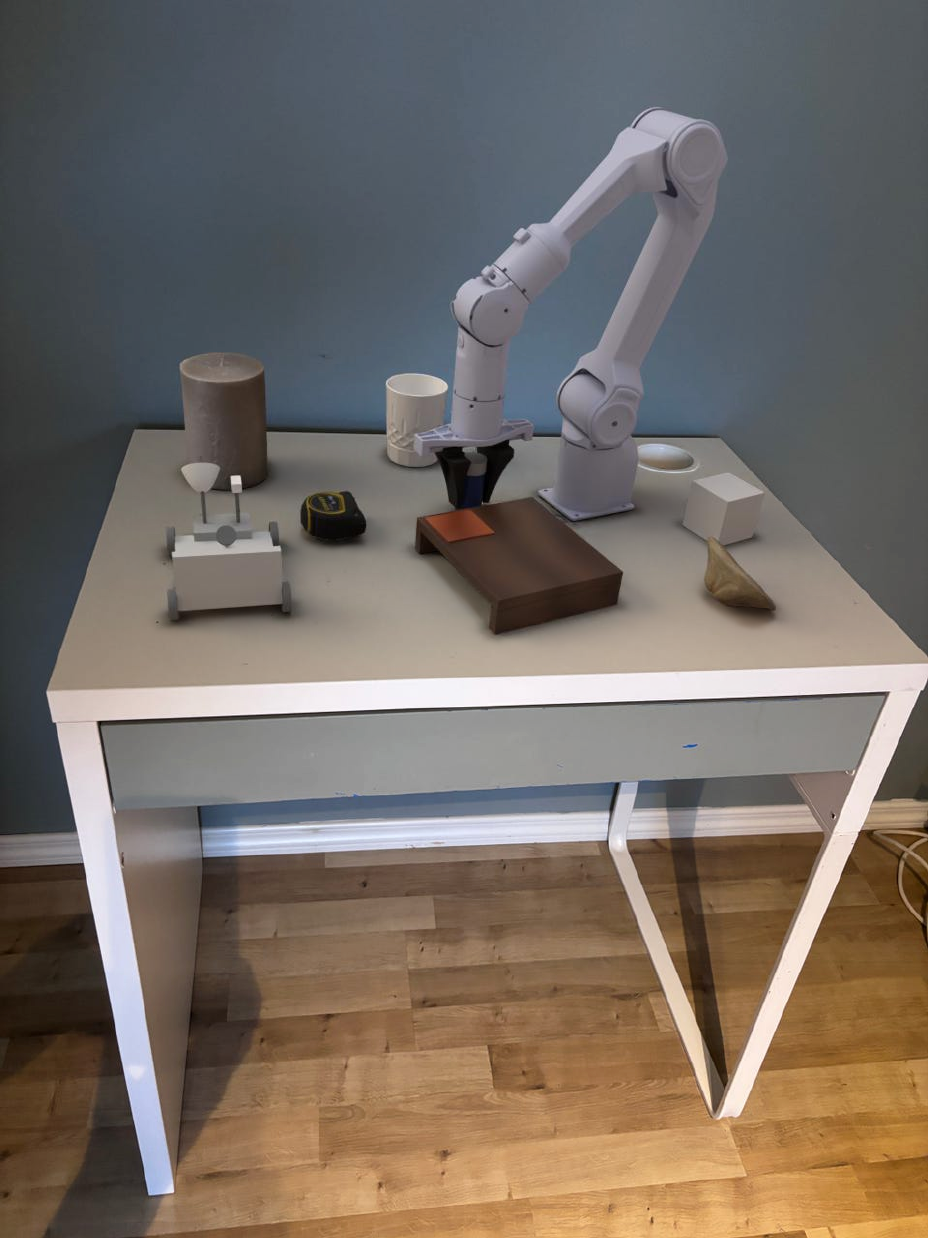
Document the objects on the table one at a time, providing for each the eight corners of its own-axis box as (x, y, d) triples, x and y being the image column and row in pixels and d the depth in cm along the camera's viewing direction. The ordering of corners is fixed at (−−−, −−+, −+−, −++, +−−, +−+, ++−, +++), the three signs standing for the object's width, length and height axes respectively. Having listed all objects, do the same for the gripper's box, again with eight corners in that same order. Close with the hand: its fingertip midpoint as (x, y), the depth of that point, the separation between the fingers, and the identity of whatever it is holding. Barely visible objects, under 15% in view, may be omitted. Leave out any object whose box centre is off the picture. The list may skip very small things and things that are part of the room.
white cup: (389, 441, 134) (392, 370, 128) (447, 448, 133) (452, 377, 128) (377, 465, 127) (380, 391, 122) (437, 473, 127) (442, 399, 121)
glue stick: (473, 506, 120) (478, 450, 115) (486, 519, 117) (492, 461, 113) (448, 511, 118) (452, 453, 114) (461, 524, 116) (466, 465, 112)
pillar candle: (272, 458, 126) (269, 343, 118) (262, 493, 118) (258, 372, 110) (195, 454, 126) (186, 338, 117) (180, 488, 118) (169, 366, 109)
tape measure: (367, 544, 110) (368, 514, 108) (306, 549, 108) (306, 519, 106) (354, 515, 115) (354, 486, 113) (295, 519, 113) (295, 490, 111)
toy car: (159, 452, 103) (272, 448, 106) (168, 534, 108) (274, 529, 111) (160, 536, 89) (290, 529, 91) (170, 626, 94) (292, 617, 97)
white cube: (682, 525, 120) (692, 480, 117) (717, 515, 123) (728, 472, 120) (716, 547, 116) (728, 501, 113) (752, 537, 119) (764, 492, 116)
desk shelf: (528, 526, 117) (532, 494, 114) (617, 604, 104) (624, 570, 101) (414, 548, 110) (416, 515, 108) (494, 634, 97) (498, 598, 95)
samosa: (764, 585, 98) (702, 522, 104) (731, 614, 99) (671, 551, 104) (786, 612, 105) (727, 552, 111) (755, 639, 106) (698, 579, 112)
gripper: (516, 373, 115) (504, 478, 123) (404, 386, 109) (399, 496, 116) (548, 395, 110) (534, 503, 118) (433, 409, 104) (425, 523, 111)
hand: (469, 501), depth 117 cm, fingers closed on glue stick, 3 cm apart
